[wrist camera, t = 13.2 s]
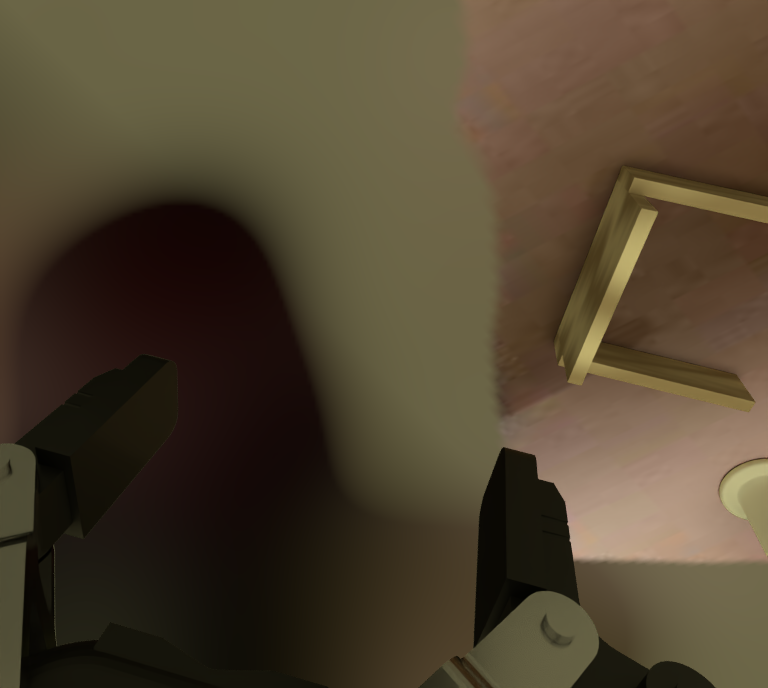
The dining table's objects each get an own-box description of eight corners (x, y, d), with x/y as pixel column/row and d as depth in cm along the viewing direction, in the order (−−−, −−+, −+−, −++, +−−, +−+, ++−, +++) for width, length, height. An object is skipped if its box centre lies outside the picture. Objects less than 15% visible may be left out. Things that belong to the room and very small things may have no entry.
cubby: (622, 165, 39) (648, 191, 32) (836, 212, 38) (909, 249, 31) (553, 341, 47) (562, 393, 40) (730, 384, 46) (770, 445, 39)
